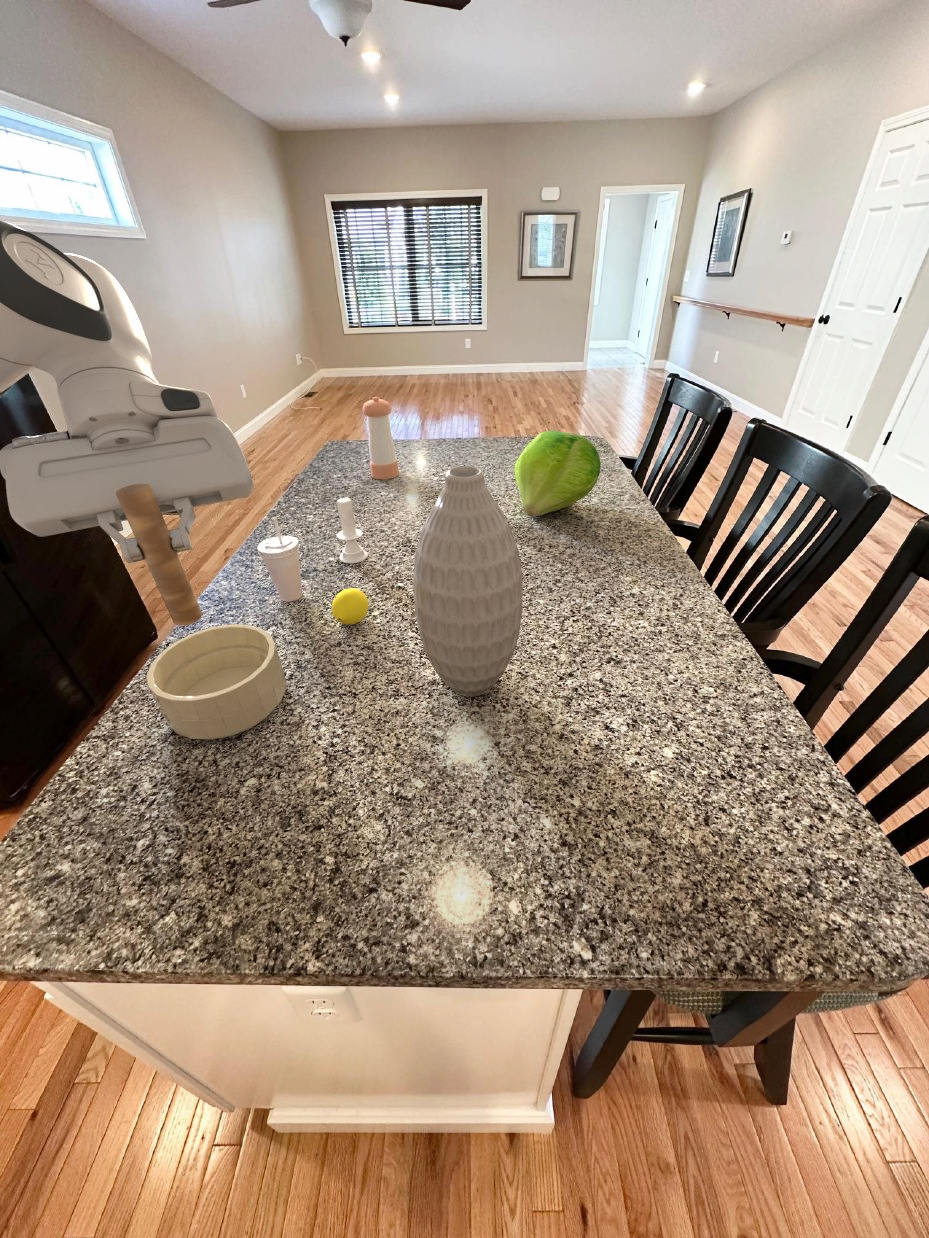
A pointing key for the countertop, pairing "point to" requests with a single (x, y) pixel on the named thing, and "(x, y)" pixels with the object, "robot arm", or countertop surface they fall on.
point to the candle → (349, 533)
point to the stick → (159, 552)
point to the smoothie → (283, 564)
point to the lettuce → (556, 471)
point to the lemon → (350, 606)
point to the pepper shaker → (380, 439)
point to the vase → (468, 585)
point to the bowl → (217, 681)
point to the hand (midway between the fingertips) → (160, 554)
